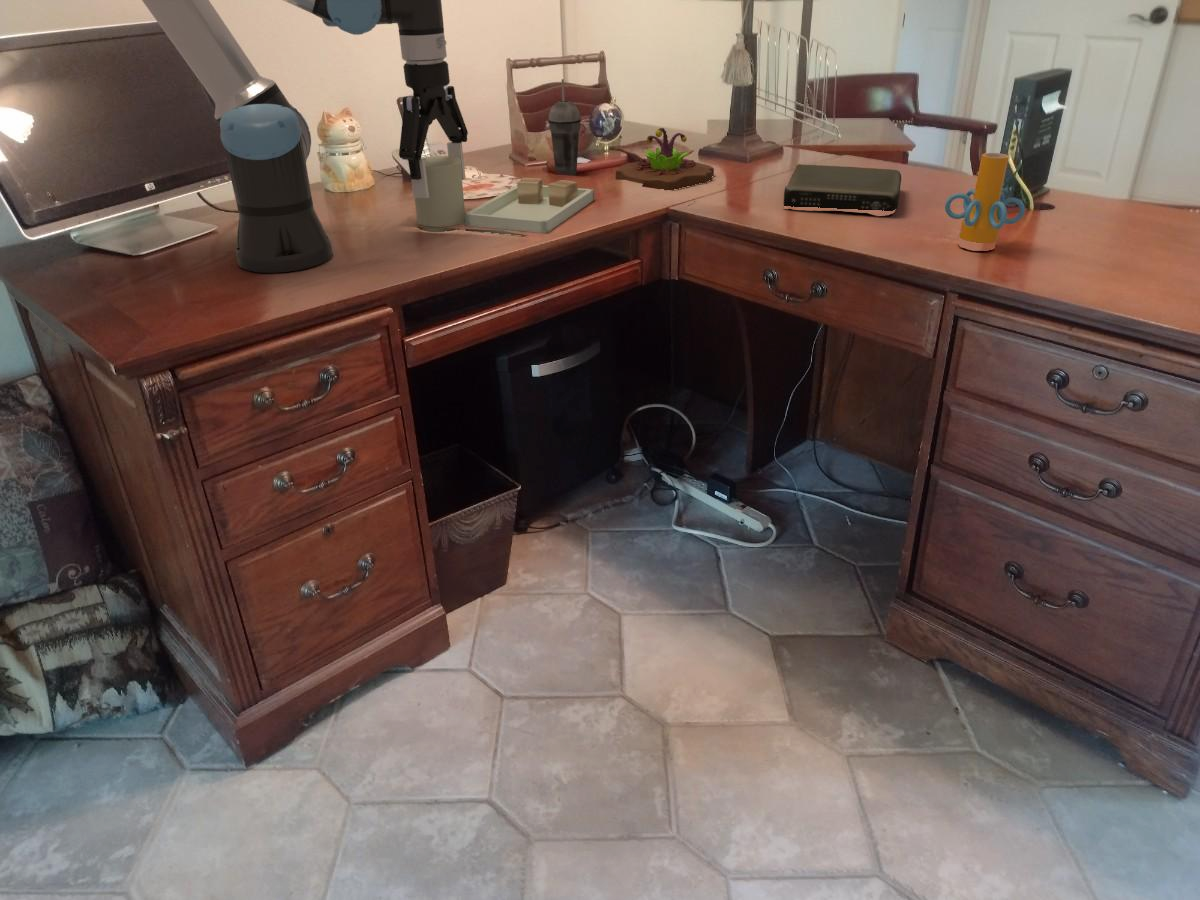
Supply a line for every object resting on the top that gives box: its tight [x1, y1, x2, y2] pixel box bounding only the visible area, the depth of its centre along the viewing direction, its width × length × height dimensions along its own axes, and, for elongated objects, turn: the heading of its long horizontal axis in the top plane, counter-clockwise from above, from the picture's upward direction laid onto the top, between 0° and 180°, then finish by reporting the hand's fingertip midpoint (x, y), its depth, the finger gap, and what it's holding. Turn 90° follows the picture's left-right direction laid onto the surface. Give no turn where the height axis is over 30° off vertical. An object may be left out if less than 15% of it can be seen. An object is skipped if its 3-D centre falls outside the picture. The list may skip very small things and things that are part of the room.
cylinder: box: [944, 152, 1026, 243], centre depth 144 cm, size 12×10×15 cm
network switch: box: [783, 163, 902, 211], centre depth 173 cm, size 23×24×5 cm
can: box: [414, 155, 466, 233], centre depth 160 cm, size 9×9×12 cm
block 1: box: [516, 177, 544, 204], centre depth 172 cm, size 4×4×4 cm
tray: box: [464, 184, 595, 237], centre depth 166 cm, size 24×16×3 cm, turn 160°
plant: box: [615, 127, 715, 191], centre depth 189 cm, size 20×20×11 cm
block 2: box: [547, 179, 579, 207], centre depth 170 cm, size 4×4×4 cm
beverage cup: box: [547, 78, 582, 177], centre depth 191 cm, size 7×7×20 cm
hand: (440, 188), depth 159 cm, fingers open, 13 cm apart
